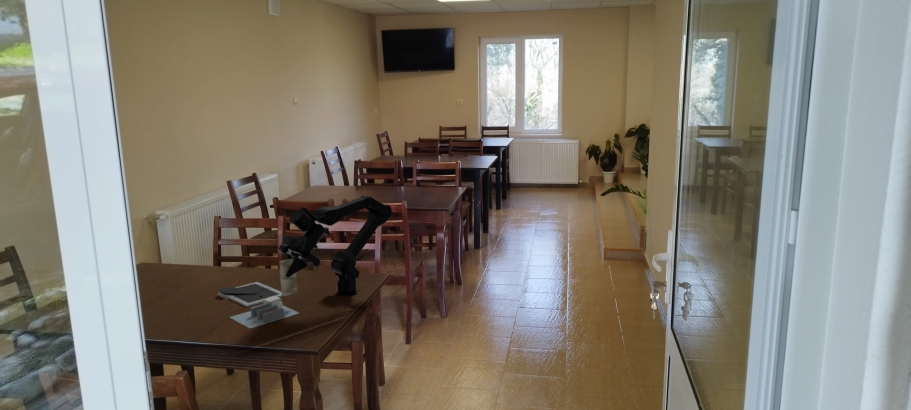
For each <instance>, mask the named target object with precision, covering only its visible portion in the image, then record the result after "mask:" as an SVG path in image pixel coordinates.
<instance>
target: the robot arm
mask: <svg viewBox="0 0 911 410" xmlns="http://www.w3.org/2000/svg"><path fill="white" fill-rule="evenodd" d="M364 209H366V211H368V212H367V219H366V221H365V222H364V224H363V225H362V227H361V228H360V230H359V231H358V232H357V233H356V235H355V236H354V238H353V239H352V240H351V242H350V243H349V245H348V246H347V247H346V249H344V250H343V251H342V250H338V251H336V253H335V255H334V256H333V257H331V262H330V269H331V270H332V272H333V273H334V275H335V276H337V280H336V290H337V293H338V295H339V296H346V295H356V294H358V292H357V291H358V290H357V279H358V278H359V276H360V271H359V270H358V269H357V268H356V264H357V259H358V256H359V254H360V253H361V251H363V249H364V247H365V246H366V244H367V243H368V241H370V239H371V238H372V236H373V235H374V233H375V232H376V230H377V229H378V228H379V227H381V226H383V225H384V224H386V222H387V221H388V220H389V219H390V218H392V215H393V213H392V212H393V211H392V207H391V206H390V205H388V204H384V203H382V202H380V201H378V200H376V199H375V198H374V197H372V196H369V195H361V196H360V197H357V198H355V199H352V200H349V201H347V202H344V203H342V204H339V205H335V206H323V207H319V208H318V209H316V211H314V212H309V210H308V209H307V208H306V207H305V206H304V207H303V206H301V207H300V208H299V209H296V211H294V212H292V213H291V214H290V218H289V222H290V223H291V224H293V225H294V226H295V227H296V228H297V229H299V230H300V231H301V232H304V234H303V235H295V236H294V237H293V236H289V235H286V234H284V236H283V238H282V240H281V244H280V245H279V246H278V248H277V250H278V251H280V253H282V254H283V255H284V256H285V260H288V259H292V258H293V263H292V265H291V266H290V268H289V270H288V272H287V274H286V277H290V276H291V275H293V274H295V273H296V274H297V273H298V272H300V271H301V270H304V269H305V268H308V267H309V264H311V267H313V268H316V269H317V268H319V266H320V264H321V259H320V258H318V257H317V256H316V255H314V254H313V253H312V252H313V251H314V249H316V250H317V249H318V247H319V246H318V244H319V242H320V241H321V239H322V238H323V236H324V235H325V236H328V237H329V236H330V235H331V233H330V229H329V227H330V226H333V225H335V224H337V223H338V222H339V223H340V221H341V220H342V218H344V217H346V216H349V215H352V214H353V213H356V212H359V211H361V210H364ZM323 225H325V227H324V226H323ZM326 226H329V227H326Z"/></svg>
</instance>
